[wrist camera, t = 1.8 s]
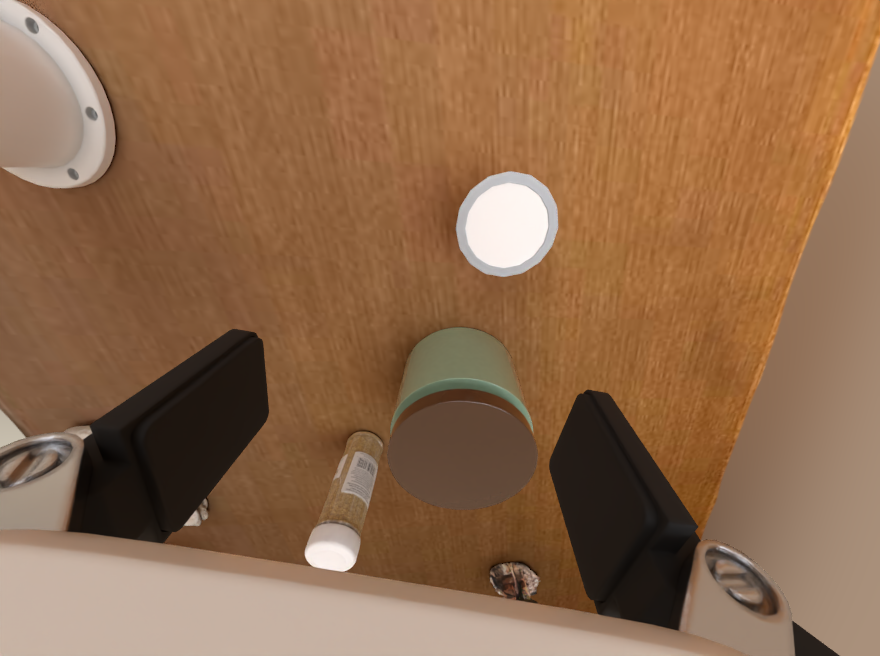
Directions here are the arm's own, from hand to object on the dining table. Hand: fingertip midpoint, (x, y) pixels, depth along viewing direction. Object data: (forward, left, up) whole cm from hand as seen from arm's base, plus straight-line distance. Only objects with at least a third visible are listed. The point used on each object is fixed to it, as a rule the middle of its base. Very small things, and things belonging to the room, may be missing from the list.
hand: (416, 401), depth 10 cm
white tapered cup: (-1, +5, -22) cm, 23 cm away
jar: (+14, -3, -22) cm, 26 cm away
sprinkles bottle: (+20, -17, -22) cm, 34 cm away
